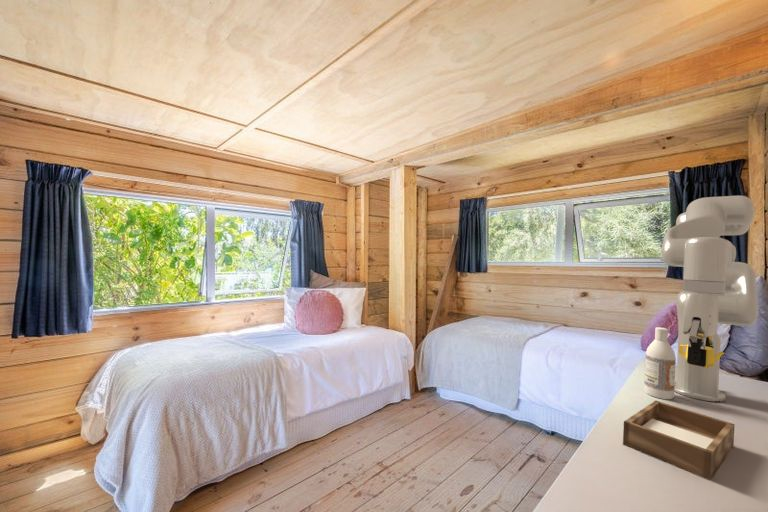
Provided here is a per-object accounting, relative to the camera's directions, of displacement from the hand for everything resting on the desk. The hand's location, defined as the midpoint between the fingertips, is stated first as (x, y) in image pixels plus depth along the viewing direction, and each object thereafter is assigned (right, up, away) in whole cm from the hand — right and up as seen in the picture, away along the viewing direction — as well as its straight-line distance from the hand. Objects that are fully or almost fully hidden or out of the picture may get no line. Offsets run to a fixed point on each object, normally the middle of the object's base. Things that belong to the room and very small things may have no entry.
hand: (700, 362), depth 83 cm
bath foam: (+6, -16, +20) cm, 26 cm away
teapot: (0, -1, 0) cm, 1 cm away
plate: (-14, -16, -9) cm, 23 cm away
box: (-12, -16, -8) cm, 22 cm away
